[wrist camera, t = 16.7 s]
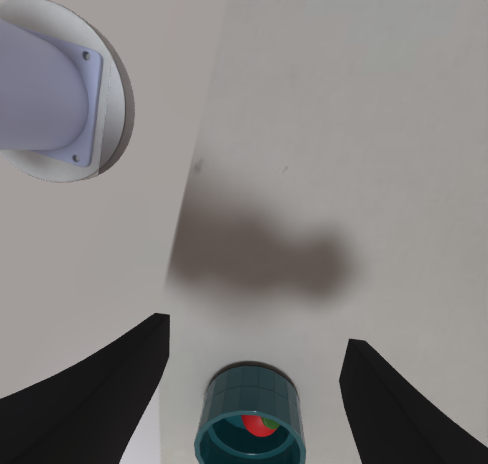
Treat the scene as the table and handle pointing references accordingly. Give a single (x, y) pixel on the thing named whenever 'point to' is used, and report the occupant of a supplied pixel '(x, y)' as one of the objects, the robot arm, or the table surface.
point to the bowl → (250, 403)
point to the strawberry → (259, 425)
